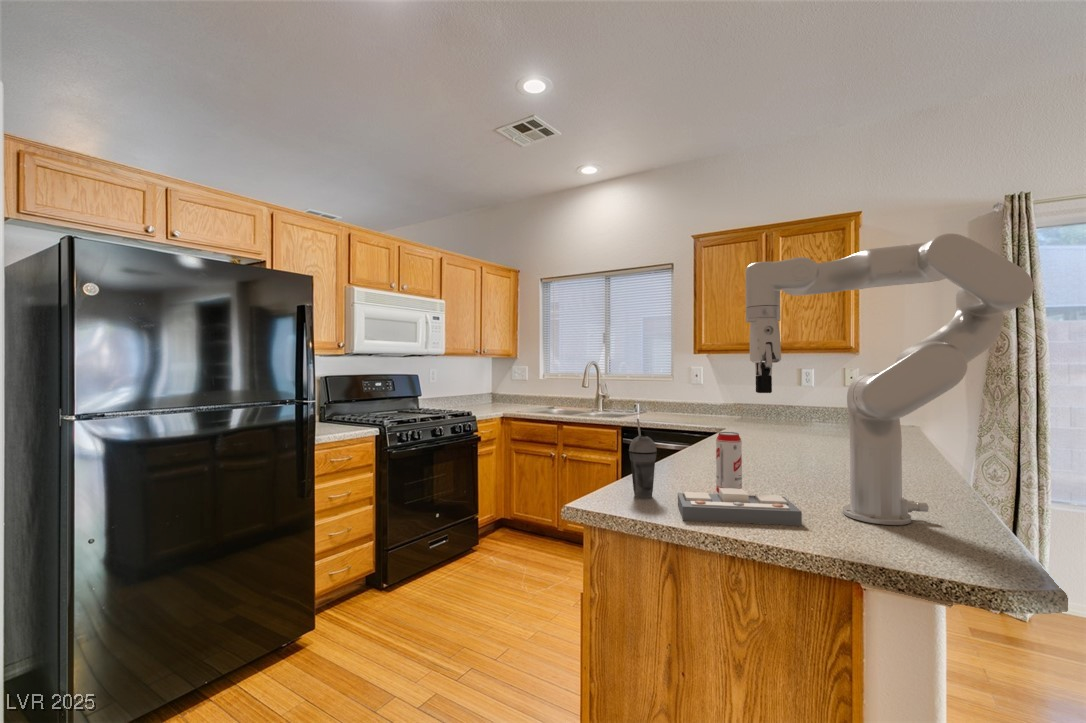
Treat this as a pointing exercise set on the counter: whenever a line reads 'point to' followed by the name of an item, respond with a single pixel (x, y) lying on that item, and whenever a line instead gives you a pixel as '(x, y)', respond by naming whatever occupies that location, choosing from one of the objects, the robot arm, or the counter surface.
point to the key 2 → (770, 499)
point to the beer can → (728, 461)
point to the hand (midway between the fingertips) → (763, 392)
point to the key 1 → (696, 496)
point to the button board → (739, 511)
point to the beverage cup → (642, 465)
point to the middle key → (733, 495)
